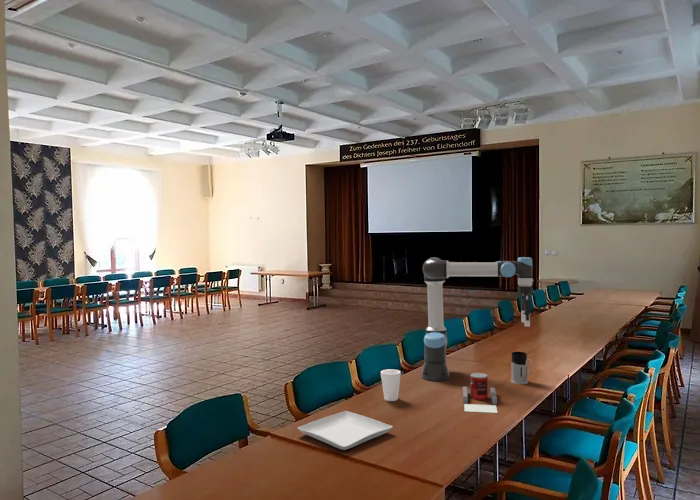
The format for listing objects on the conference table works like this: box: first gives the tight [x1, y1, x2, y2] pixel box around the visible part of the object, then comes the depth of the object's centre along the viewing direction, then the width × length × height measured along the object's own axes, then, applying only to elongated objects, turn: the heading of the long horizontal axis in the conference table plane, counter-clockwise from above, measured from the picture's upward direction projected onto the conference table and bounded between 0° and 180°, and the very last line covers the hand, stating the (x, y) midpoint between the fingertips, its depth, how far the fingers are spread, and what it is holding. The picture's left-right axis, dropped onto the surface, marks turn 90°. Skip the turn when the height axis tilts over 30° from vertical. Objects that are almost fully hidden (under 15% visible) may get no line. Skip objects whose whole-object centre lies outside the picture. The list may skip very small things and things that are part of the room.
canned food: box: [469, 372, 489, 401], centre depth 248 cm, size 8×8×11 cm
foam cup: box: [380, 368, 402, 402], centre depth 249 cm, size 10×9×13 cm
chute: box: [462, 386, 499, 414], centre depth 241 cm, size 15×28×3 cm, turn 168°
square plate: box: [297, 410, 394, 451], centre depth 205 cm, size 27×27×4 cm
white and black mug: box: [510, 351, 534, 385], centre depth 271 cm, size 9×14×15 cm, turn 21°
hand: (525, 324), depth 287 cm, fingers open, 13 cm apart
